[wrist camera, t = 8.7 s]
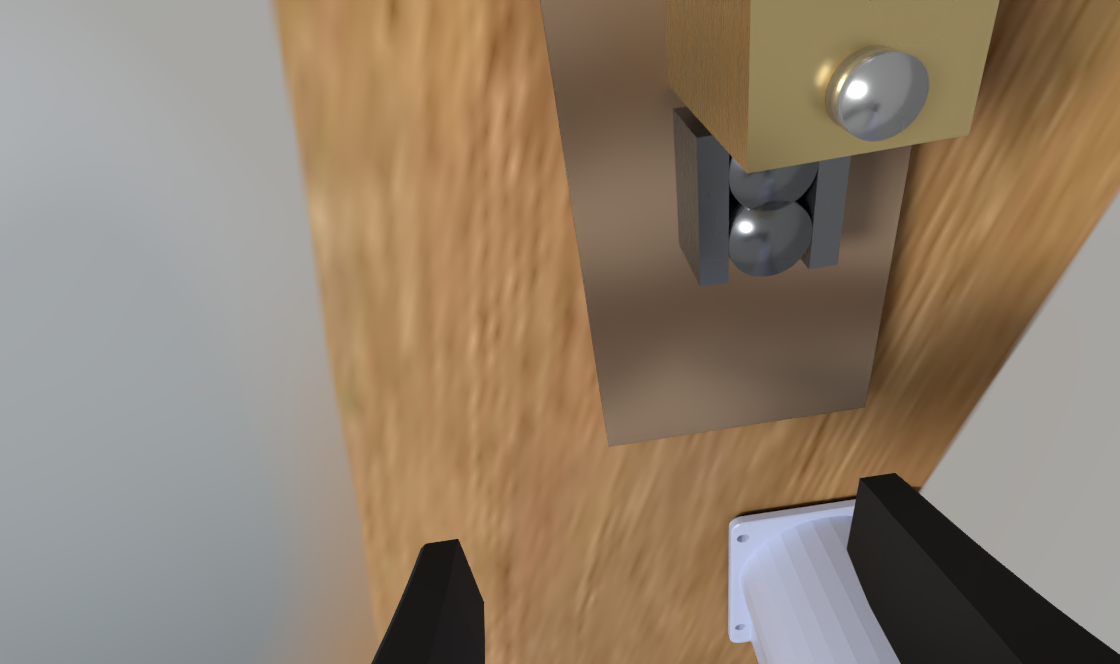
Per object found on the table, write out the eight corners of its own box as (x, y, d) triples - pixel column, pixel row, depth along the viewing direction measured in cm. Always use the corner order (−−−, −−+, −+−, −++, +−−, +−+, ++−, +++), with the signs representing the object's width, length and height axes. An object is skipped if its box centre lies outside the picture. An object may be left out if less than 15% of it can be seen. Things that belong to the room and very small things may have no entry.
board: (852, 388, 22) (865, 407, 21) (605, 427, 22) (608, 446, 21) (1022, -683, 9) (1070, -740, 9) (454, -559, 10) (448, -602, 9)
